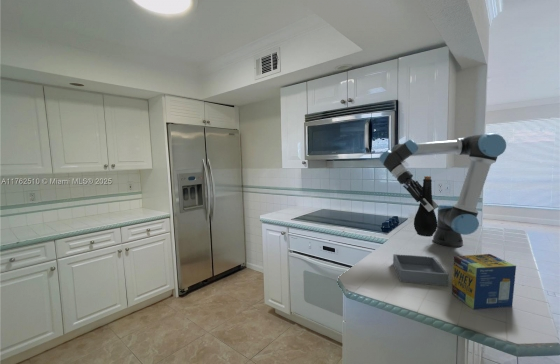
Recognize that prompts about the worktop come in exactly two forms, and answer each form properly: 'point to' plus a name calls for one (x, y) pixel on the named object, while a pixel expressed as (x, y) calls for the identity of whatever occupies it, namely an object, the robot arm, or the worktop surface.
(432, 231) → the bottle
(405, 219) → the worktop surface
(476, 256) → the protein box
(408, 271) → the tray
